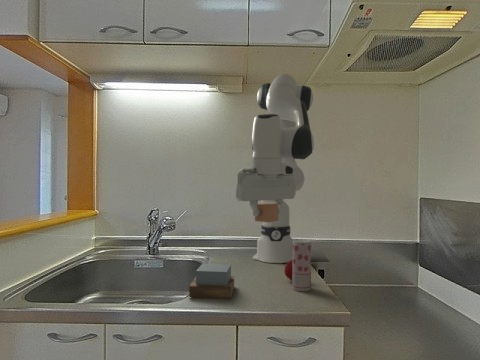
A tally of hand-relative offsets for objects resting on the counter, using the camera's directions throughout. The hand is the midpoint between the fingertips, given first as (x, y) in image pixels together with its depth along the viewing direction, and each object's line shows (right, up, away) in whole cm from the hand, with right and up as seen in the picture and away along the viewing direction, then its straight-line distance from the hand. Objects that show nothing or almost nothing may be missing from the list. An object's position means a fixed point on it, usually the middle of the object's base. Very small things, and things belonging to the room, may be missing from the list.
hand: (266, 215), depth 116 cm
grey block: (-16, -20, +2) cm, 25 cm away
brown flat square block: (-16, -24, +2) cm, 29 cm away
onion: (+10, -23, +14) cm, 29 cm away
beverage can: (+11, -24, +6) cm, 27 cm away
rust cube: (0, -2, 0) cm, 2 cm away
